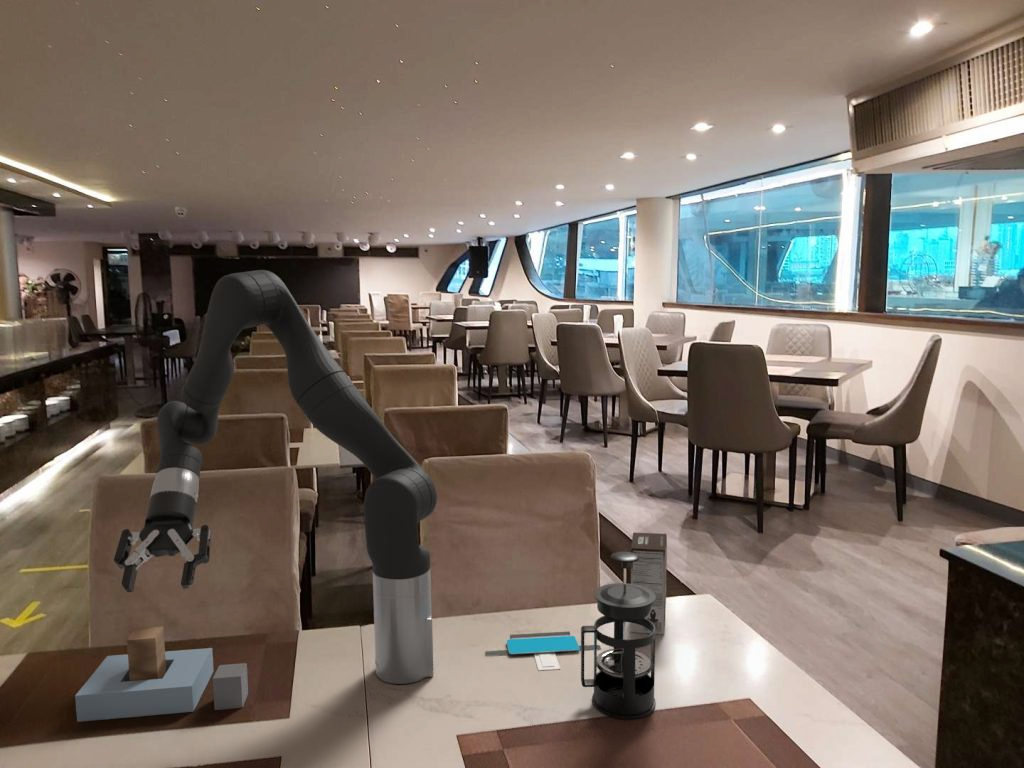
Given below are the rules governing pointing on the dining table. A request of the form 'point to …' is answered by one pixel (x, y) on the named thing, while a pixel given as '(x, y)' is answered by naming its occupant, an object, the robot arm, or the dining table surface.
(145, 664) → the walnut pin
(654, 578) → the coffee box
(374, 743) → the dining table surface
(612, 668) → the french press
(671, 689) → the dining table surface
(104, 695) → the blue-grey flat frame
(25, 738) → the dining table surface
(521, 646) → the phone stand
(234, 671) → the grey upright block
